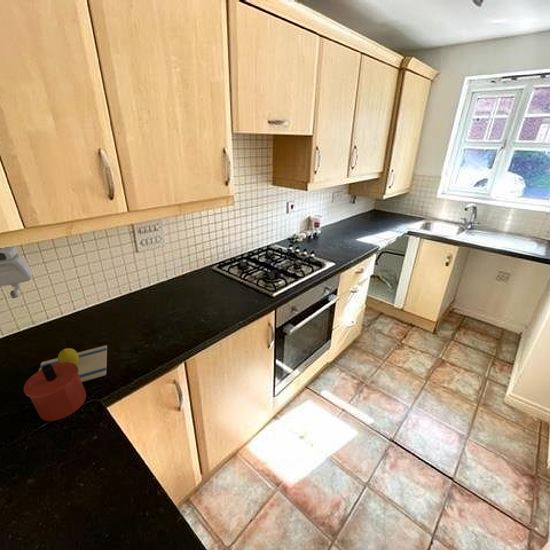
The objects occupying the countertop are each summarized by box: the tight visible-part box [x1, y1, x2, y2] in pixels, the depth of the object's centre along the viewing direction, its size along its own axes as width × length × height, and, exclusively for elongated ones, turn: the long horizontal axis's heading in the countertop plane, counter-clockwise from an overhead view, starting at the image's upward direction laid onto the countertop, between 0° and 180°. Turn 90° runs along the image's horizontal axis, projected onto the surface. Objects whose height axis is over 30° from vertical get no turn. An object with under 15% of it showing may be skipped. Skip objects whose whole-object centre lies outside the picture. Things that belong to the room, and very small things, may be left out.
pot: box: [29, 374, 87, 422], centre depth 86 cm, size 12×12×10 cm
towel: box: [38, 344, 108, 383], centre depth 100 cm, size 20×16×1 cm
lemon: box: [57, 347, 79, 365], centre depth 98 cm, size 6×6×8 cm
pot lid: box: [23, 362, 78, 398], centre depth 83 cm, size 13×13×5 cm
